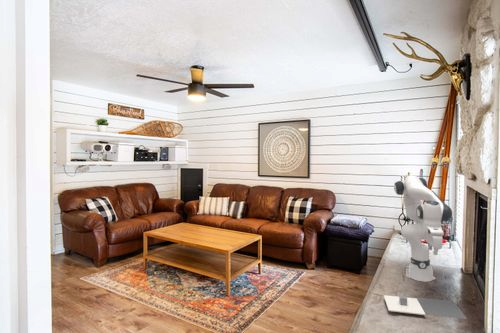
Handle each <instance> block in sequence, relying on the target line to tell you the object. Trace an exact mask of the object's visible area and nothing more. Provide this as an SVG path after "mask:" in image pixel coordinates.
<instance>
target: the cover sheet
mask: <svg viewBox="0 0 500 333" xmlns="http://www.w3.org/2000/svg"><path fill="white" fill-rule="evenodd" d="M383 298H384V300H385V304H386V306H387V310H388V312H393V313H400V312H402V313H401V314H404V313H411V314H413V315H421V316H426V315H427V314H425V312H424V311H423V309H422V307H421V305H420V303H419V302H418V300H417V299H416V297H415V298H414V297H407V296H406V295H398V296H396V295H395V296H394V295H385V294H384V295H383ZM411 314H410V315H411Z"/></svg>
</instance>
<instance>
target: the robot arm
mask: <svg viewBox="0 0 500 333" xmlns="http://www.w3.org/2000/svg"><path fill="white" fill-rule="evenodd" d="M393 190H394V192H395V194H396V195H398V196H403V204H404V208H405V209H404V210H405V213H406V216H407V218H408V219H409V220H413V221H414V222H415V223H408V224H405V225H402V227H400V235H401V236H402V237H403V239H405V240H406V241H407V242H408V243H409V245H410V250H411V251H410V252H411V253H410V254H411V257H410V262H409V263H408V265H406V268H405V277H406V278H409V279H412V280H415V281H418V282H423V283H426V282H427V283H428V282H432V281H434V280H436V277H435V275H434V272H433V267H432V265H431V259H430V251H432V253H433V255H434V256H438V253H439V250H441V249H442V248H443V236H445V235H444V234H445V233H444V231H443V226H442V222H448V221H449V220H451V218H452V217H453V210H452V208H451V207H450V206H449V205H448V204H447V203H445V202H444V201H443V200H442V198H440V196H438V194H437V193H436V192H435V191H433V190H431V189H429V188H428V182H427V180H426V179H425V178H422V177H418V176H416V175H413V174H412V175H411V174H410V175H407V177H405V179H404V180H398V181H395V183H394V184H393ZM421 201H424V203H423V204H422V202H421ZM423 240H425V241H426V243H427V245H425V244H424V243H422V241H423Z"/></svg>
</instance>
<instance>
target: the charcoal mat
mask: <svg viewBox="0 0 500 333" xmlns="http://www.w3.org/2000/svg"><path fill="white" fill-rule="evenodd" d="M415 298H416V299H417V300H418V302H419V303H420V305H421V307H422V309H423V311H424V312H425V314H426V315H428V316H429V315H430V316H436V317H437V316H438V317H445V318H446V317H447V318H456V319H461V320H462V319H464V320H468V318H467V316H465V313H463V311H462V310H461V309H460V308H459V306H457V304H456V303H455V302H454V301H453V300H447V299H446V300H443V299H436V298H435V299H434V298H427V297H426V298H425V297H416V296H415Z"/></svg>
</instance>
